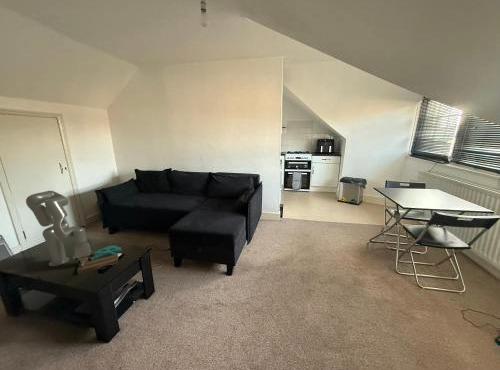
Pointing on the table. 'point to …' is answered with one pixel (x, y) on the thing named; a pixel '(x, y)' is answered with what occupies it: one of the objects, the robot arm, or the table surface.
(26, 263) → the table surface
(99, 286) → the table surface
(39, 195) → the robot arm
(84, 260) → the mallet
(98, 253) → the alien figure
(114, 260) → the board
